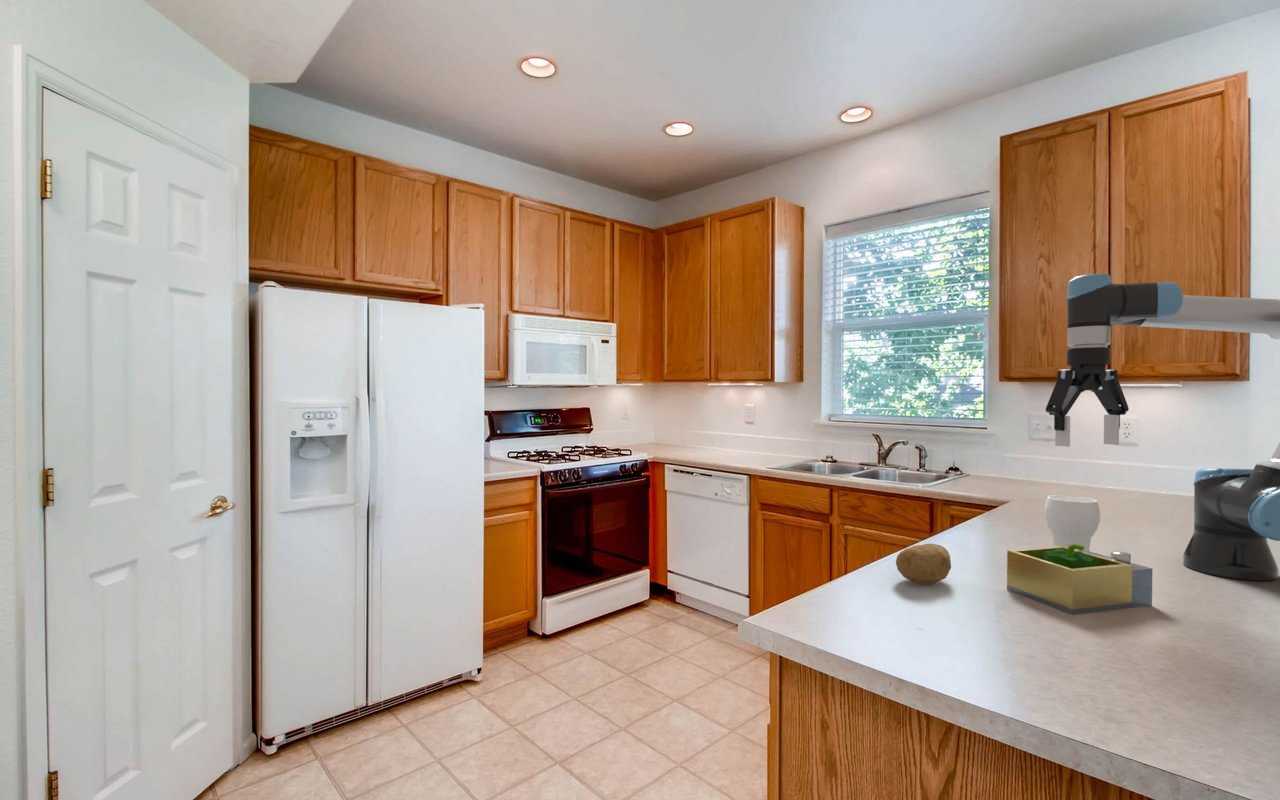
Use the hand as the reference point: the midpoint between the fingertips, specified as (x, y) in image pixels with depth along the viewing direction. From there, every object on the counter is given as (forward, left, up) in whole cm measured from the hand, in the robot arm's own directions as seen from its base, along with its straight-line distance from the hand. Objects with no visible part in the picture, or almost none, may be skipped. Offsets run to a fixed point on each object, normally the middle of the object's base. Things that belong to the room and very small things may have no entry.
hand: (1087, 445), depth 129 cm
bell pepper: (+17, +10, -28) cm, 34 cm away
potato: (+37, -5, -29) cm, 47 cm away
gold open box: (+14, +10, -29) cm, 34 cm away
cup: (-7, -9, -29) cm, 31 cm away
